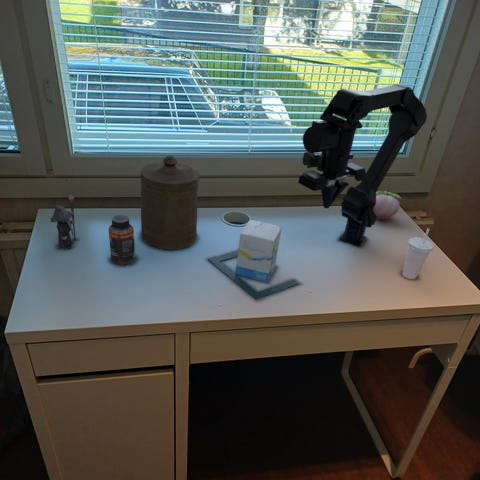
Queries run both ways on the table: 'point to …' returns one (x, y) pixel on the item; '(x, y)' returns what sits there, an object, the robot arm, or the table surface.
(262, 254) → the ink box
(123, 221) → the supplement bottle
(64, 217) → the wizard figurine
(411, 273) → the smoothie
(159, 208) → the wooden container
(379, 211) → the decorative fruit
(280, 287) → the frame
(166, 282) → the table surface
